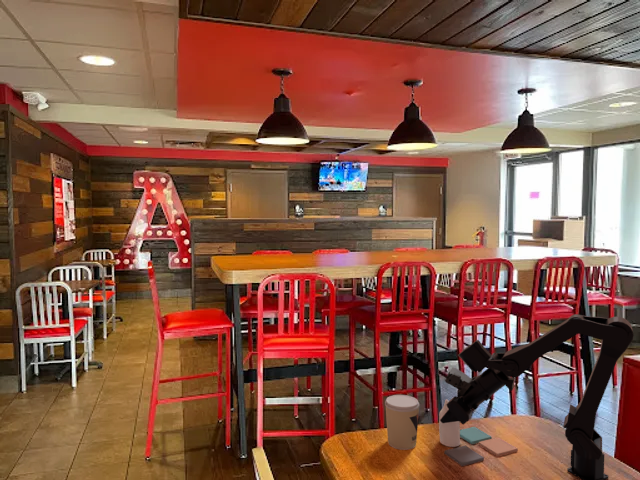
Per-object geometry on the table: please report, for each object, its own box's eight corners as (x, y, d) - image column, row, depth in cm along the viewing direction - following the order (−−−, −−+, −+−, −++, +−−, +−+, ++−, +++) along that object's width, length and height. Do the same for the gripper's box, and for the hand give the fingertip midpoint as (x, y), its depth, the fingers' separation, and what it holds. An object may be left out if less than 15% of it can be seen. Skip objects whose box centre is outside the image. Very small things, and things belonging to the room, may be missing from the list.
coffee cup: (419, 452, 127) (419, 408, 127) (383, 449, 129) (383, 406, 129) (419, 436, 137) (419, 395, 136) (386, 434, 139) (386, 393, 138)
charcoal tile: (483, 460, 123) (483, 457, 123) (461, 466, 121) (461, 463, 121) (465, 448, 130) (465, 445, 130) (444, 453, 127) (444, 450, 127)
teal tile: (491, 439, 135) (491, 436, 135) (471, 444, 132) (471, 441, 132) (474, 429, 141) (474, 426, 141) (455, 433, 138) (455, 431, 138)
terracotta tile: (517, 451, 128) (517, 448, 128) (497, 456, 125) (497, 453, 125) (498, 440, 134) (498, 437, 134) (478, 444, 132) (478, 442, 132)
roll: (464, 402, 130) (444, 404, 129) (464, 446, 131) (444, 448, 130) (453, 394, 136) (435, 396, 135) (453, 436, 137) (435, 438, 135)
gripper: (471, 352, 138) (434, 383, 144) (454, 370, 122) (413, 405, 128) (500, 383, 134) (460, 414, 140) (486, 407, 118) (442, 440, 124)
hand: (444, 417), depth 133 cm, fingers closed on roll, 6 cm apart
